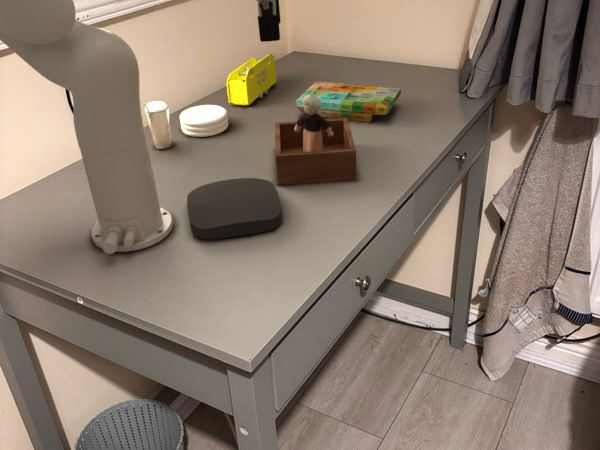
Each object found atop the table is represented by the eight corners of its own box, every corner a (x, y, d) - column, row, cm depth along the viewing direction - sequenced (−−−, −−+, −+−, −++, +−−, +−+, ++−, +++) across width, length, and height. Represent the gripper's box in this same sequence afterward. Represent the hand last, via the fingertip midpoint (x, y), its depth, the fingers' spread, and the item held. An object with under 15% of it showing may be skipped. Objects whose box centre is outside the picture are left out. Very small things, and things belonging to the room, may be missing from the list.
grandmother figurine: (291, 163, 117) (287, 97, 110) (297, 154, 120) (293, 90, 113) (332, 167, 115) (330, 100, 108) (337, 158, 118) (335, 92, 111)
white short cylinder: (232, 133, 132) (231, 117, 130) (185, 141, 130) (182, 125, 128) (224, 116, 140) (222, 101, 138) (178, 123, 138) (176, 108, 136)
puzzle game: (314, 78, 144) (401, 85, 138) (315, 98, 147) (400, 105, 140) (295, 96, 135) (387, 104, 128) (296, 117, 138) (387, 126, 131)
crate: (356, 179, 112) (356, 150, 109) (277, 185, 111) (275, 156, 109) (347, 144, 124) (347, 117, 121) (277, 149, 124) (274, 122, 121)
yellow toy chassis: (250, 108, 143) (246, 72, 139) (228, 106, 145) (223, 70, 141) (278, 85, 156) (276, 51, 151) (257, 83, 158) (254, 49, 153)
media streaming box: (192, 245, 97) (189, 228, 95) (187, 199, 109) (185, 183, 107) (287, 230, 99) (285, 214, 97) (272, 187, 111) (270, 172, 109)
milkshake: (144, 150, 127) (135, 102, 122) (161, 139, 131) (153, 93, 126) (162, 153, 125) (153, 105, 120) (179, 143, 129) (171, 95, 124)
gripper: (284, -75, 90) (293, 46, 99) (284, -90, 104) (292, 16, 113) (231, -71, 90) (245, 49, 99) (239, -86, 104) (250, 20, 114)
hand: (270, 32), depth 106 cm, fingers open, 9 cm apart
